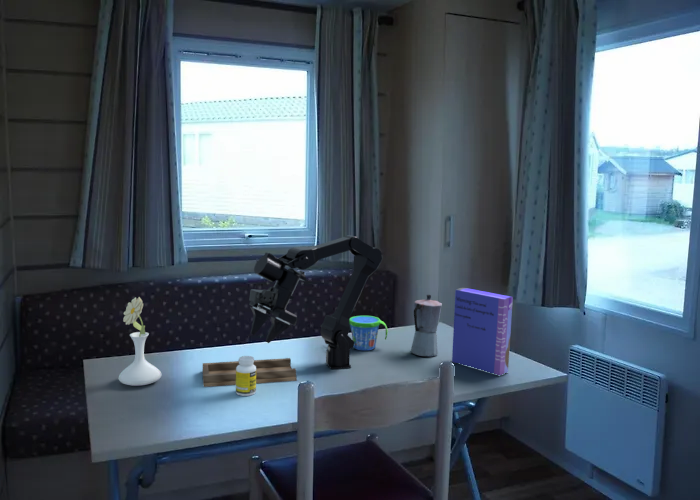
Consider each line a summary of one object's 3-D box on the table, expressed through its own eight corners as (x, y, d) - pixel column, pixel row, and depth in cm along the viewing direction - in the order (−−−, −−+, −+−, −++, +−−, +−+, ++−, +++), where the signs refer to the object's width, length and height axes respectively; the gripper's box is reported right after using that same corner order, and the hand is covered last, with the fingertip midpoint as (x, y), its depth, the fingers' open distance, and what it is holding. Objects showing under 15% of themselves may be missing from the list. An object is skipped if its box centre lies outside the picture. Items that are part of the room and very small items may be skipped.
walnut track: (289, 365, 185) (289, 357, 185) (296, 380, 173) (296, 371, 172) (202, 371, 179) (202, 362, 178) (203, 386, 166) (203, 377, 166)
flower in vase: (118, 377, 172) (115, 291, 168) (159, 373, 176) (158, 289, 173) (119, 393, 160) (116, 301, 156) (163, 388, 164) (162, 299, 161)
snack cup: (338, 350, 202) (339, 321, 200) (345, 341, 212) (345, 313, 211) (384, 354, 199) (385, 324, 197) (388, 345, 209) (389, 317, 208)
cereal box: (507, 373, 184) (512, 296, 181) (499, 376, 181) (504, 298, 177) (460, 359, 196) (464, 287, 193) (451, 362, 193) (455, 288, 189)
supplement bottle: (251, 397, 160) (252, 361, 158) (232, 395, 161) (232, 360, 159) (259, 390, 165) (259, 355, 163) (240, 388, 166) (240, 354, 165)
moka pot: (446, 351, 204) (449, 293, 202) (427, 362, 192) (430, 301, 189) (421, 345, 209) (423, 289, 207) (400, 357, 197) (403, 297, 194)
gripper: (247, 271, 175) (222, 320, 173) (277, 282, 160) (251, 336, 157) (276, 287, 181) (253, 334, 179) (308, 298, 166) (283, 350, 164)
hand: (259, 338), depth 170 cm, fingers open, 9 cm apart
